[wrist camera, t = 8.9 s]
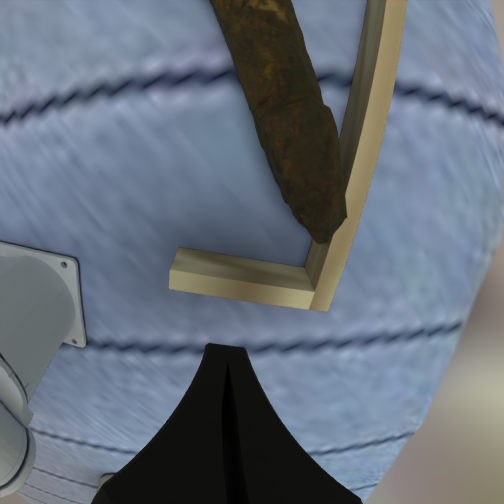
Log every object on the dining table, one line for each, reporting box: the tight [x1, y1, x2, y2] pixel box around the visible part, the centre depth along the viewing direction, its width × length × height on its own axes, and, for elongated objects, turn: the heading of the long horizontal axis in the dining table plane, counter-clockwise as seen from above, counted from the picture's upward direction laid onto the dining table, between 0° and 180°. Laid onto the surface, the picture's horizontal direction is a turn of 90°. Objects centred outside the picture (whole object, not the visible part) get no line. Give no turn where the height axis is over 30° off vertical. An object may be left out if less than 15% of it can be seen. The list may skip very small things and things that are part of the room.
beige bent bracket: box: [168, 0, 407, 312], centre depth 14 cm, size 9×24×3 cm, turn 168°
